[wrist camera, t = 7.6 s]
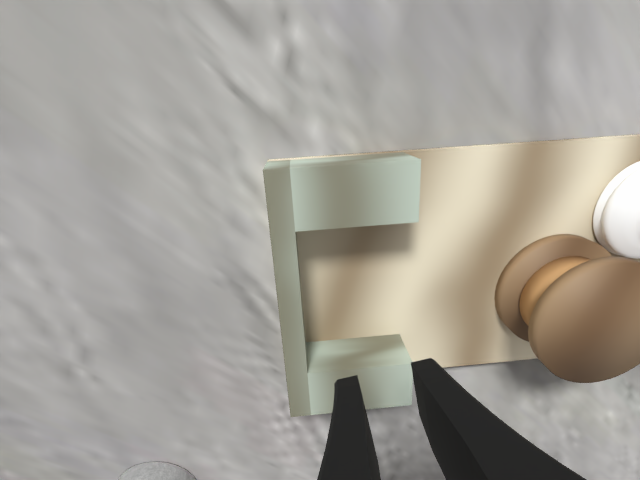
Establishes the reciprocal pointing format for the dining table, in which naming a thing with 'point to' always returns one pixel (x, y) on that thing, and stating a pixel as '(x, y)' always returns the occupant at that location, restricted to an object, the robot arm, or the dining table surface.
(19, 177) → the dining table surface
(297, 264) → the station
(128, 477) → the house plant
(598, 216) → the chess piece
